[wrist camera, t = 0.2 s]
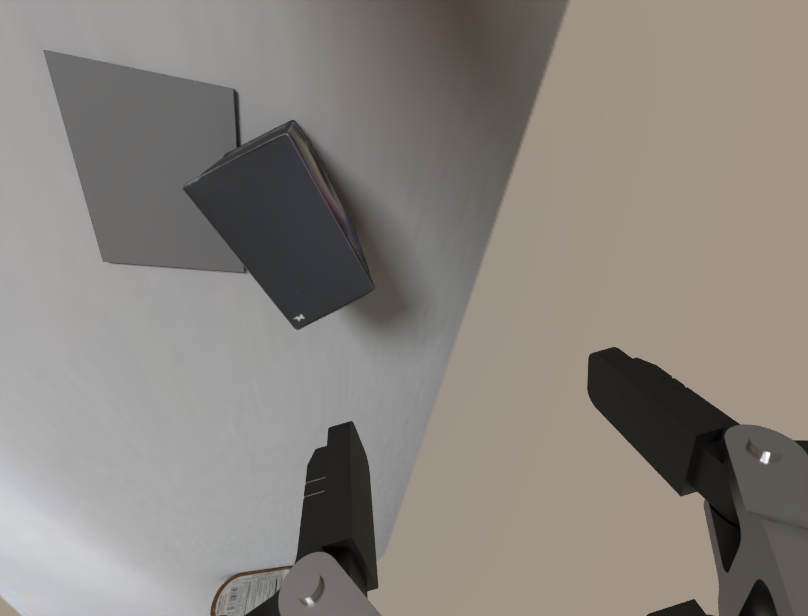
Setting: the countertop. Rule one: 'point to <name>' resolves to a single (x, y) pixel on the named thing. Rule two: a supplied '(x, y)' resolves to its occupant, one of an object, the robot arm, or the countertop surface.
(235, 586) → the tin
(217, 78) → the countertop surface
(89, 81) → the mat
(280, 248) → the small box
